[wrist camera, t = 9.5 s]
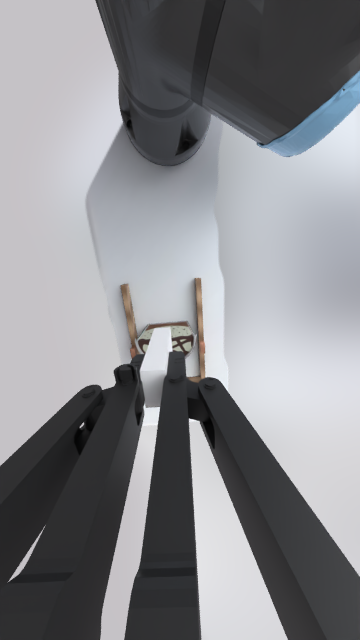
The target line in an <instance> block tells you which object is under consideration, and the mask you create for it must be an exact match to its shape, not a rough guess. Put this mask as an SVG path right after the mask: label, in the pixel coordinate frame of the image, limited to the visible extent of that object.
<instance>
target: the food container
mask: <svg viewBox="0 0 360 640" xmlns="http://www.w3.org/2000/svg"><path fill="white" fill-rule="evenodd" d="M167 327H170V329H171V340H172V350H173V352H175V351H182V352H183V353H184V354H185V359H186V358H187V357H188V356H189V355H190V353H191V352H192V350H193V348H194V346H195V342H196V337H197V333H196V334H195V336H194V334H193V332H192V330H191V328H190V326H189V324H188V322H187V321H179V322H167V323H156V324H148V326H147V327H146V328H145V330H144V331H143V332H142V334H141V335H140V336H139V338H138V339H137V341H136V338H135V344H136V347H137V349H138V351H139V352H140V354H146V351H147V348H148V345H149V342H150V339H151V336H152V334H153V331H154V328H167Z"/></svg>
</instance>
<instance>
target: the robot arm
mask: <svg viewBox="0 0 360 640" xmlns="http://www.w3.org/2000/svg"><path fill="white" fill-rule="evenodd" d="M96 3H97V7H98V10H99V13H100V16H101V18H102V22H103V25H104V28H105V31H106V34H107V37H108V40H109V43H110V46H111V49H112V52H113V55H114V58H115V61H116V64H117V67H118V70H119V105H120V111H121V115H122V119H123V122H124V125H125V128H126V130H127V133H128V135H129V137H130V139H131V141H132V143H133V145H134V146H135V147H136V149H137V150H138V151H139V152H140V153H141V154H142V155H143V156H144V157H145V158H147V159H148V160H150V161H152V162H154V163H156V164H160V165H167V166H169V165H176V164H179V163H182V162H184V161H186V160H187V159H189V158H190V157H191V156H192V155H194V153H195V152H196V151H197V150H198V149H199V147H200V146H201V144H202V143H203V141H204V139H205V136H206V134H207V131H208V127H209V123H210V119H211V114H213V115H214V116H216V117H218V118H219V119H221V120H222V121H224V122H226V123H227V124H229V125H230V126H232V127H234V128H235V129H237V130H239V131H240V132H242V133H243V134H245V135H246V136H248V137H249V138H251V139H253V140H254V141H256V142H257V145H258V146H260V147H261V148H268V149H270V150H272V151H273V152H275V153H277V154H279V155H281V156H284V157H290V156H293V155H298V154H301V153H302V152H304V151H306V150H308V149H309V148H311V147H312V146H314V145H315V144H317V143H318V142H319V141H320V140H322V139H323V138H324V137H325V136H326V135H327V134H329V133H330V132H331V131H332V130H333V129H334V128H335V127H336V126H337V125H338V124H339V123H340V122H342V121H343V120H344V119H345V118H346V117H347V116H348V115H349V114H350V113H351V111H353V109H354V108H355V107H356V106H357V105H358V104H359V103H360V0H96ZM114 375H115V379H116V384H115V386H114V387H111V388H108V389H104V390H102V389H101V387H100V386H99V385H90V386H87V387H85V388H83V389H82V390H80V391H79V392H78V393H77V394H76V395H75V396H74V397H73V398H72V399H71V400H69V401H68V403H66V404H65V405H64V406H63V407H62V408H61V409H60V410H59V411H58V412H57V413H56V414H55V415H54V416H53V417H52V418H51V419H49V420H48V421H47V422H46V423H45V424H44V425H43V426H42V427H41V428H40V429H39V430H38V431H37V432H36V433H35V434H34V435H33V436H32V437H31V438H30V439H28V440H27V442H25V443H24V444H23V445H22V446H21V447H20V448H19V449H18V450H17V451H16V452H15V453H14V454H13V455H12V456H10V457H9V458H8V459H7V460H6V461H5V462H4V463H3V464H2V465H1V466H0V640H100V635H101V616H102V608H103V603H104V598H105V593H106V589H107V584H108V580H109V575H110V570H111V566H112V561H113V556H114V552H115V547H116V543H117V538H118V533H119V529H120V524H121V519H122V515H123V510H124V506H125V501H126V496H127V491H128V487H129V482H130V477H131V473H132V469H133V464H134V459H135V455H136V450H137V446H138V441H139V436H140V432H141V427H142V422H143V418H144V408H143V406H144V402H145V406H146V408H148V407H160V413H159V421H158V430H157V437H156V445H155V453H154V461H153V469H152V476H151V484H150V492H149V500H148V507H147V515H146V523H145V531H144V539H143V547H142V555H141V562H140V566H139V570H138V572H137V574H136V577H135V579H134V583H133V588H132V593H131V598H130V604H129V610H128V617H127V625H126V632H125V639H124V640H201V628H200V627H201V626H200V610H199V593H198V575H197V559H196V540H195V526H194V525H195V522H194V505H193V487H192V469H191V453H190V434H189V418H190V419H194V420H198V421H200V424H201V427H202V429H203V432H204V434H205V437H206V439H207V441H208V443H209V446H210V449H211V451H212V454H213V456H214V459H215V461H216V464H217V466H218V469H219V471H220V474H221V476H222V478H223V481H224V483H225V486H226V488H227V491H228V493H229V496H230V498H231V501H232V503H233V506H234V508H235V510H236V513H237V515H238V518H239V520H240V523H241V525H242V528H243V530H244V533H245V535H246V538H247V540H248V542H249V545H250V547H251V550H252V552H253V555H254V557H255V560H256V562H257V565H258V567H259V569H260V572H261V574H262V577H263V579H264V582H265V584H266V587H267V589H268V592H269V594H270V596H271V599H272V602H273V604H274V606H275V609H276V611H277V614H278V616H279V619H280V621H281V624H282V626H283V629H284V631H285V634H286V636H287V638H288V640H360V577H359V575H358V574H357V572H356V571H355V570H354V568H353V567H352V565H351V564H350V563H349V561H348V560H347V558H346V557H345V556H344V554H343V553H342V551H341V550H340V549H339V547H338V546H337V544H336V543H335V542H334V540H333V539H332V537H331V536H330V535H329V533H328V532H327V530H326V529H325V527H324V526H323V525H322V523H321V522H320V520H319V519H318V518H317V516H316V515H315V513H314V512H313V511H312V509H311V508H310V507H309V505H308V504H307V502H306V501H305V500H304V498H303V497H302V495H301V494H300V493H299V491H298V490H297V488H296V487H295V485H294V484H293V483H292V481H291V480H290V478H289V477H288V476H287V474H286V473H285V471H284V470H283V469H282V467H281V466H280V465H279V463H278V462H277V460H276V459H275V457H274V456H273V455H272V453H271V452H270V450H269V449H268V448H267V446H266V445H265V444H264V442H263V441H262V439H261V438H260V436H259V435H258V434H257V432H256V431H255V430H254V428H253V427H252V425H251V424H250V422H249V421H248V420H247V418H246V417H245V415H244V414H243V413H242V411H241V410H240V408H239V407H238V405H237V404H236V403H235V401H234V400H233V398H232V397H231V396H230V394H229V393H228V391H227V390H226V389H225V387H224V386H223V384H222V383H221V382H220V381H219V380H218V379H215V378H211V377H207V378H203V379H201V380H200V381H199V383H197V382H193V381H191V380H189V379H188V378H187V377H186V368H185V354H184V353H183V352H182V351H175V352H173V350H172V340H171V329H170V327H167V328H154V331H153V334H152V336H151V339H150V342H149V345H148V348H147V351H146V354H137V355H136V356H134V357H133V358H132V361H131V363H130V364H124V365H121V366H119V367H117V368H116V369H115V370H114ZM83 422H84V425H83V427H81V428H79V427H80V426H81V424H82V423H83ZM46 523H47V524H46ZM45 525H46V526H45ZM44 526H45V528H44ZM43 528H44V530H43ZM42 530H43V532H42V534H41V536H40V538H39V540H38V542H37V544H36V546H35V548H34V550H33V552H32V554H31V556H30V558H29V560H28V562H27V564H26V565H25V567H24V569H23V570H22V571H21V573H20V574H19V575H18V576H16V577H15V578H13V579H12V580H11V581H9V580H10V578H11V577H12V575H13V573H14V572H15V570H16V569H17V567H18V566H19V564H20V562H21V561H22V560H23V558H24V557H25V555H26V554H27V552H28V551H29V549H30V548H31V546H32V544H33V543H34V542H35V540H36V538H37V537H38V536H39V534H40V533H41V531H42ZM8 581H9V582H8Z"/></svg>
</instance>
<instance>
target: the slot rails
mask: <svg viewBox="0 0 360 640" xmlns="http://www.w3.org/2000/svg"><path fill="white" fill-rule="evenodd" d="M195 285H196V304H197V322H198V341H199V360H200V376H199V377H187V378H188V379H189V380H191V381H193V382H197V383H199V381H200V380H201V379H203V378H205V360H204V353H205V343H204V337H203V314H202V291H201V278H195ZM121 290H122V296H123V301H124V306H125V312H126V317H127V322H128V328H129V333H130V338H131V344H132V347H131V349H130V352H131V357H132V358H133V357H134V356H136V355H137V354H140V352H139V351H138V349H137V347H136V344H135V338H136V341H137V339H138V337H137V331H136V325H135V320H134V314H133V308H132V302H131V297H130V291H129V285H128V284H123V285H121Z"/></svg>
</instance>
